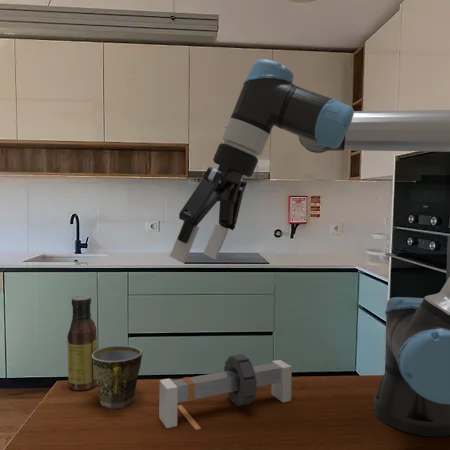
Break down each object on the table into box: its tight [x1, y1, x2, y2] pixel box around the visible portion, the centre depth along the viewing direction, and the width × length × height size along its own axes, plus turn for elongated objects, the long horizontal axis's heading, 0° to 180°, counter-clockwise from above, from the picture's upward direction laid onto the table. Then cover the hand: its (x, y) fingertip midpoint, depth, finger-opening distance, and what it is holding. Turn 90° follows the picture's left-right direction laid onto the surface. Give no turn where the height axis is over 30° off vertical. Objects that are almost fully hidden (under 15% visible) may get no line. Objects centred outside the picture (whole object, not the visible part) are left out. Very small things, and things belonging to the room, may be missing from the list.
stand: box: [158, 359, 293, 431], centre depth 85 cm, size 27×10×7 cm, turn 116°
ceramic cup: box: [92, 344, 143, 410], centre depth 86 cm, size 13×10×10 cm
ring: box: [223, 353, 258, 407], centre depth 86 cm, size 2×9×9 cm, turn 26°
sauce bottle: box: [66, 295, 98, 391], centre depth 94 cm, size 7×6×20 cm
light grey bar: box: [171, 362, 282, 404], centre depth 85 cm, size 25×3×3 cm, turn 116°
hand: (194, 258), depth 78 cm, fingers open, 13 cm apart
